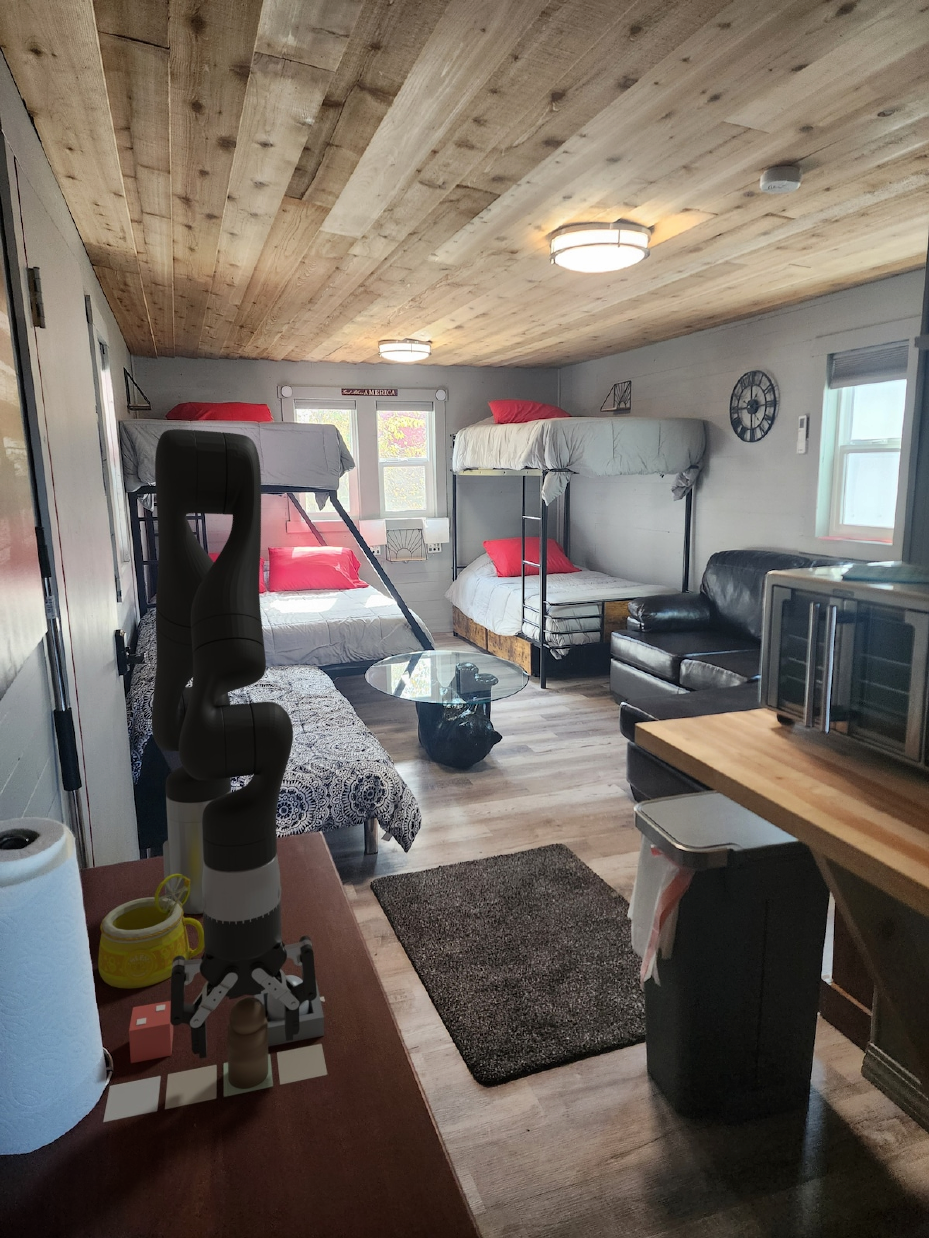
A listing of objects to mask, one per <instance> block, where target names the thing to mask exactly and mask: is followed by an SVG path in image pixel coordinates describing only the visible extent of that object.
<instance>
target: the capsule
mask: <svg viewBox="0 0 929 1238" xmlns="http://www.w3.org/2000/svg"><path fill="white" fill-rule="evenodd" d="M285 976H286V977H287V978H288V979H289V980H290V981H291V982H292V983H293V984H294V985H295V986H296V985H298V984H300V983H302V982H303V980H302V978H300V977H298V976H296V975H292V974H287V975H286V974H285ZM267 1010H268V1011H267V1022H269V1021H275V1020H280V1019H285V1014H284V1003H283V1002H281V1001H280V1000H279V999H276V998H275V997H274V996H273V995H271V994H270V993H269V992H268V996H267ZM307 1014H310V1006H309V1001H308V1000H306V1001H304V1002H303V1003H302V1004H301V1005H300V1007H299V1016H302V1015H307Z"/></svg>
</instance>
